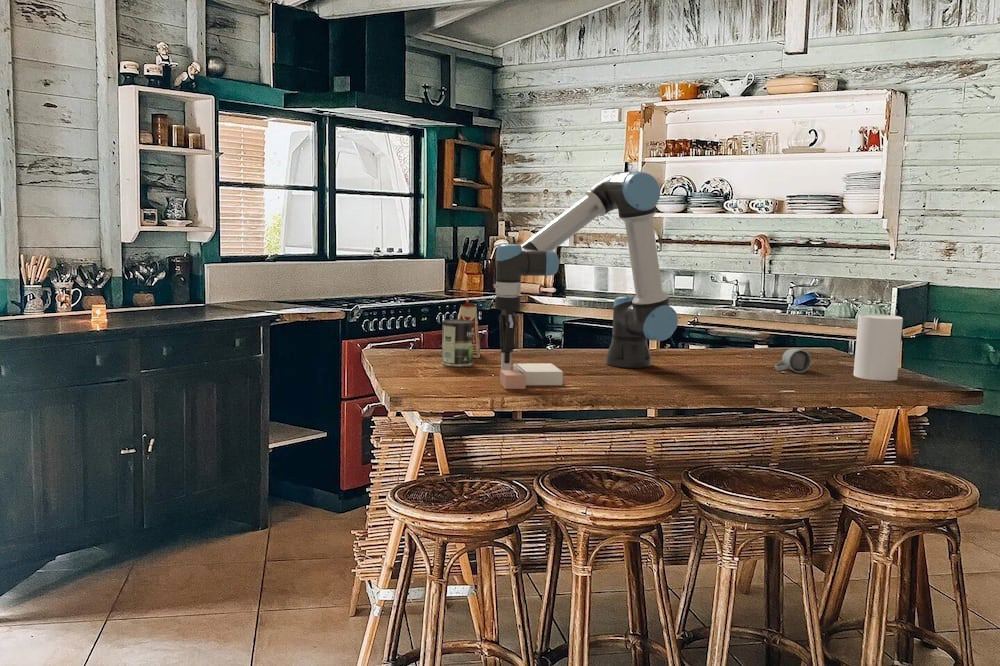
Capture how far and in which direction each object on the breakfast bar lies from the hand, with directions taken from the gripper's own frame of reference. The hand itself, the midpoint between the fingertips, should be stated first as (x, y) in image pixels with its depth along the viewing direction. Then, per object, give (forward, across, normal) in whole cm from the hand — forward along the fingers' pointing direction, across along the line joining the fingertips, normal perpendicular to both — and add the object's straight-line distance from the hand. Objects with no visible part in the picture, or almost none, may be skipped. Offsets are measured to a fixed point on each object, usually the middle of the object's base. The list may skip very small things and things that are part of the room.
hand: (505, 373), depth 298 cm
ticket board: (+2, +3, +9) cm, 10 cm away
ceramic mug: (+3, -11, +100) cm, 101 cm away
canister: (+3, +1, +124) cm, 124 cm away
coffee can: (+2, -26, -11) cm, 28 cm away
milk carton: (+2, -43, -5) cm, 43 cm away
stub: (+2, +12, 0) cm, 12 cm away
